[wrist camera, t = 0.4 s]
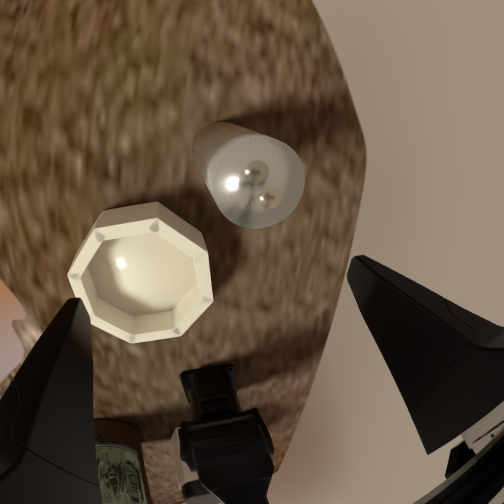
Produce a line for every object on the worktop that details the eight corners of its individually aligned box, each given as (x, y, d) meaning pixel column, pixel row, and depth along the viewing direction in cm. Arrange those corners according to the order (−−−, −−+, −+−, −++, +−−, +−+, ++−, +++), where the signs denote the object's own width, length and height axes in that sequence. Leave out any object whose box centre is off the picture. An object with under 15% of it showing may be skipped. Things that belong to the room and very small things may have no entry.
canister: (248, 174, 23) (304, 224, 15) (194, 180, 22) (217, 236, 14) (247, 120, 21) (308, 136, 13) (190, 124, 20) (210, 141, 12)
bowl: (210, 305, 28) (217, 329, 26) (101, 322, 26) (98, 347, 23) (198, 195, 23) (204, 210, 20) (66, 217, 20) (54, 236, 17)
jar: (217, 417, 39) (238, 487, 29) (227, 437, 43) (246, 497, 33) (161, 429, 37) (173, 499, 27) (177, 447, 42) (190, 508, 32)
